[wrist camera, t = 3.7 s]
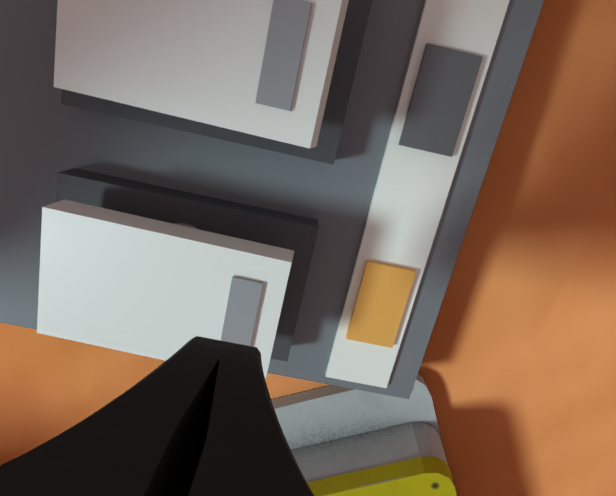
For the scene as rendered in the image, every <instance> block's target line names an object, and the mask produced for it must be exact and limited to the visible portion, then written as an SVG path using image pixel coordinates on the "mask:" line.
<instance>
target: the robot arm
mask: <svg viewBox="0 0 616 496" xmlns="http://www.w3.org/2000/svg"><path fill="white" fill-rule="evenodd" d="M0 496H314V494H313V493H312V491H311V489H310V487H309V485H308V484H307V482H306V480H305V478H304V476H303V474H302V472H301V470H300V468H299V466H298V464H297V462H296V460H295V458H294V456H293V454H292V452H291V449H290V447H289V445H288V443H287V440H286V438H285V436H284V433H283V431H282V428H281V426H280V423H279V421H278V418H277V415H276V412H275V410H274V407H273V404H272V401H271V398H270V395H269V392H268V388H267V385H266V381H265V377H264V373H263V368H262V361H261V353H260V351H259V350H258V348H257V347H252V346H247V345H242V344H236V343H231V342H226V341H220V340H215V339H210V338H205V337H199V336H196V337H194V338H192V339H191V340H189V341H188V342H187V343H186V344H185V345H184V346H183V347H181V348H180V349H179V350H178V351H177V352H176V353H175V354H173V355H172V356H171V357H170V358H169V359H167V360H166V361H165V362H164V363H163V364H161V365H160V366H159V367H158V368H156V369H155V370H154V371H153V372H151V373H150V374H149V375H147V376H146V377H145V378H143V379H142V380H141V381H139V382H138V383H137V384H136V385H134V386H133V387H132V388H130V389H129V390H127V391H126V392H125V393H123V394H122V395H120V396H119V397H117V398H116V399H114V400H113V401H111V402H110V403H108V404H107V405H105V406H104V407H102V408H101V409H100V410H98V411H97V412H95V413H94V414H92V415H91V416H89V417H87V418H86V419H84V420H83V421H81V422H79V423H78V424H76V425H75V426H73V427H71V428H70V429H68V430H66V431H65V432H63V433H61V434H59V435H58V436H56V437H54V438H52V439H51V440H49V441H47V442H45V443H44V444H42V445H40V446H38V447H36V448H35V449H33V450H31V451H29V452H27V453H25V454H23V455H21V456H19V457H17V458H15V459H13V460H11V461H9V462H7V463H5V464H2V465H0Z"/></svg>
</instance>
